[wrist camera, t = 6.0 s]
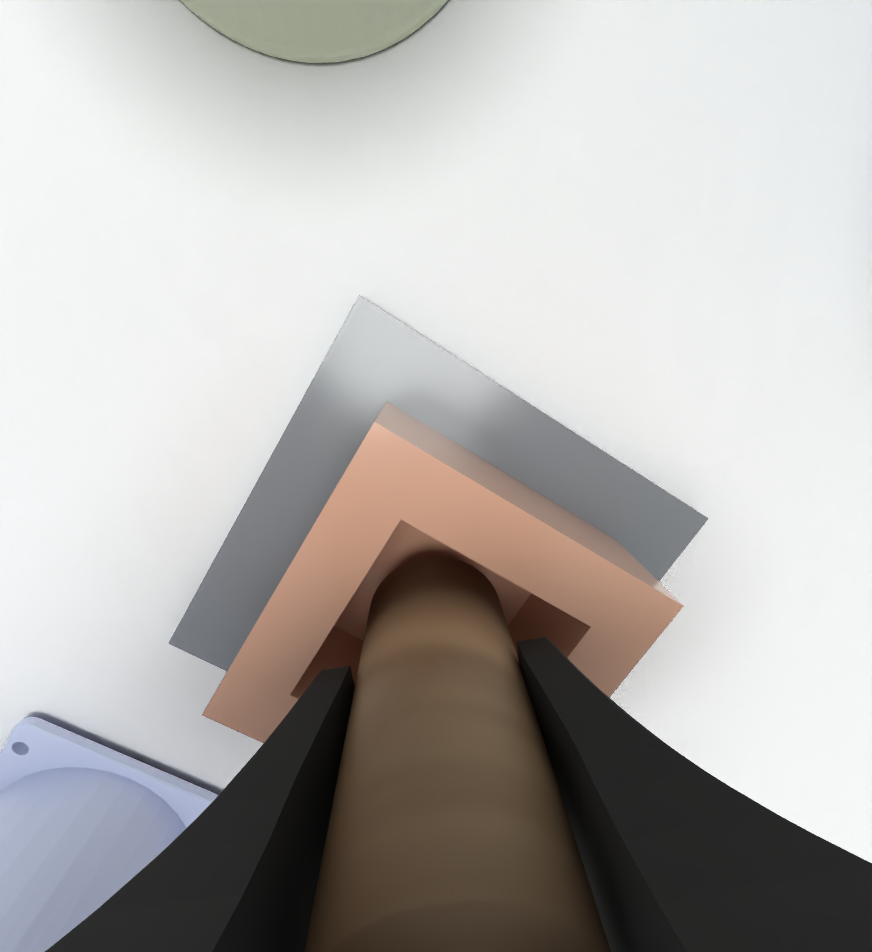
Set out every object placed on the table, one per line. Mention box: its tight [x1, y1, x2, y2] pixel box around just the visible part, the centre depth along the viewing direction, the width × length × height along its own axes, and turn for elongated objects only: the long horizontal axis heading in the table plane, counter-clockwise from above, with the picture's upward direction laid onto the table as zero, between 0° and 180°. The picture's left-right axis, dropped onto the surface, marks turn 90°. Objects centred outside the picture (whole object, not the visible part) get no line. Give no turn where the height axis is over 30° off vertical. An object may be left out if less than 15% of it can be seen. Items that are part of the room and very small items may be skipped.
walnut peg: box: [304, 556, 611, 952], centre depth 9 cm, size 4×4×8 cm
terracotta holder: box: [169, 295, 708, 743], centre depth 13 cm, size 12×12×4 cm
